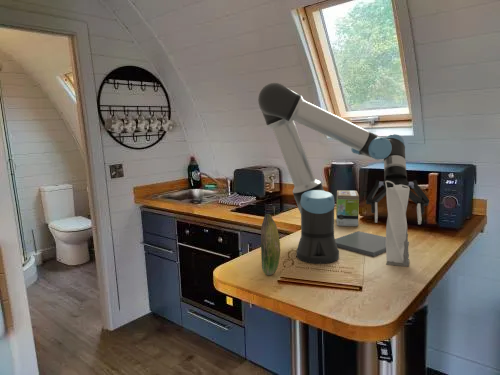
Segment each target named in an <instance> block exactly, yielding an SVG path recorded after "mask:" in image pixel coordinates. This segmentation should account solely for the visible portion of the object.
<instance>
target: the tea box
mask: <svg viewBox="0 0 500 375" xmlns="http://www.w3.org/2000/svg"><path fill="white" fill-rule="evenodd" d="M335 206H336V210H335V211H336V213H335V214H336V216H335V218H336V226H340V227H358V226H359V211H360V209H359V207H360V195H359V193H358V190H337V191H336V202H335Z"/></svg>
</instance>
